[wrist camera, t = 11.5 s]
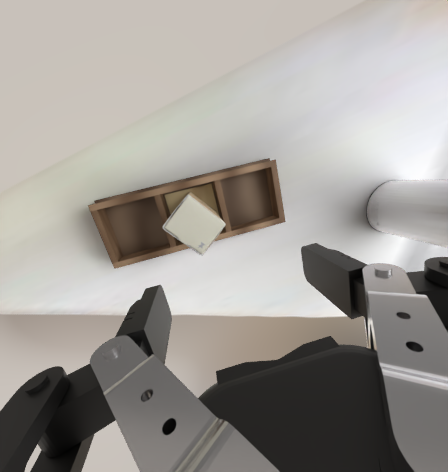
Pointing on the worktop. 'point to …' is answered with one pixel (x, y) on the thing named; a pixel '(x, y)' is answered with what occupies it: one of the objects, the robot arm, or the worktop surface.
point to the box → (194, 224)
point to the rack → (171, 195)
